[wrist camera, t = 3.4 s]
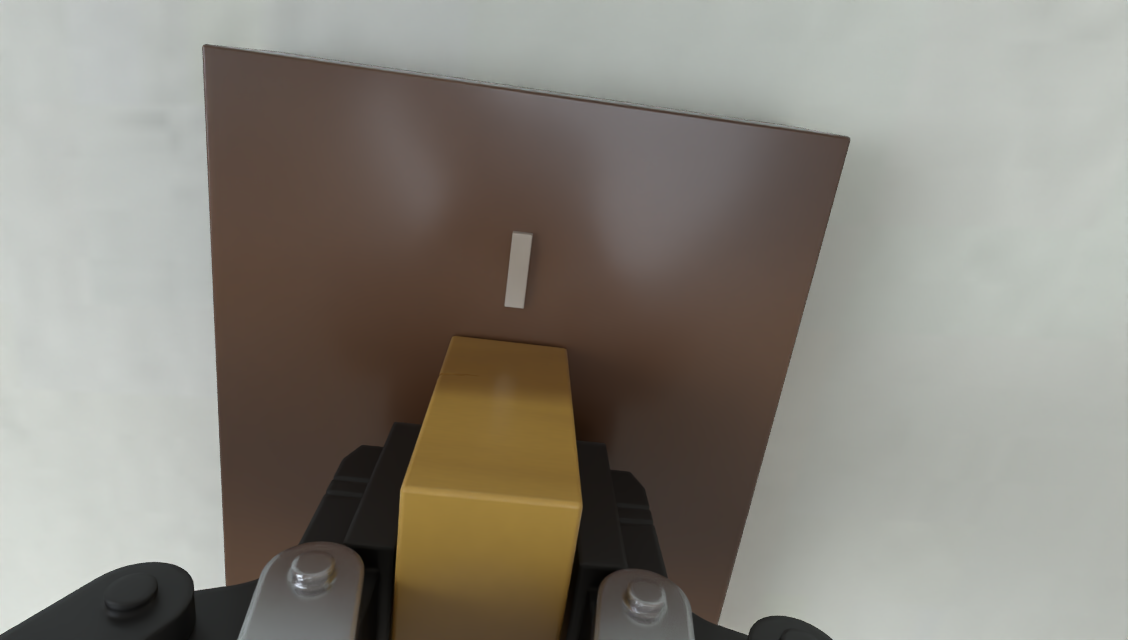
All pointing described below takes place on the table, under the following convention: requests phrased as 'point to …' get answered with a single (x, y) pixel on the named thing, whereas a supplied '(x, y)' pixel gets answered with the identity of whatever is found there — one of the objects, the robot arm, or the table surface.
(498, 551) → the yellow milk carton
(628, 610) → the robot arm
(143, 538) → the table surface
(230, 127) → the lock plate
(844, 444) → the table surface
